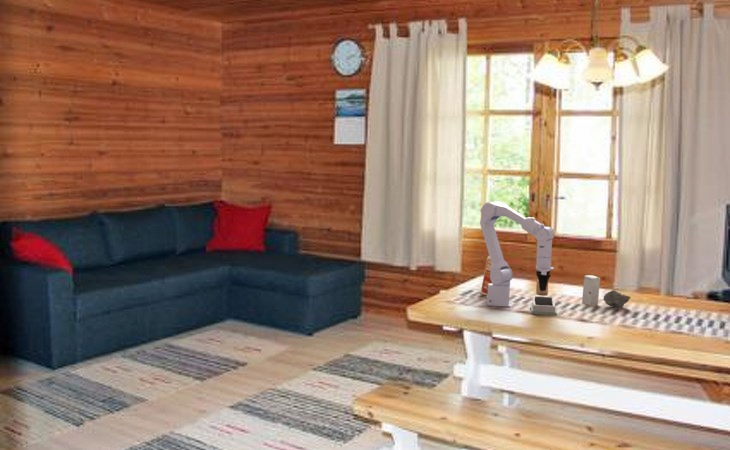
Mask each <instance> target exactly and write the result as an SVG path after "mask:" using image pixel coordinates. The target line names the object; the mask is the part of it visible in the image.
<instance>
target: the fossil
mask: <svg viewBox="0 0 730 450" xmlns="http://www.w3.org/2000/svg"><path fill="white" fill-rule="evenodd" d="M630 299H631V296H630V295H625V294H623V293H621V292H619V291H617V290H615V289H614V290H610V291H608V292H606V293H605V294H604V296H603V301H604V303H605V304H606V305H608V306H609V307H611V308H614V309H622V308H624V306H625V305H626V304H627V303H628V302H629V301H630Z"/></svg>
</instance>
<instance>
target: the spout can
mask: <svg viewBox="0 0 730 450" xmlns="http://www.w3.org/2000/svg"><path fill="white" fill-rule="evenodd" d="M549 282H550V281H549V280H548V282H547V287H546V290H545V291H540V288H539V280H538V279H537V280H536V288H535V289H536V291H535V294H536V295H535V296H540V297H547V296H548V295H549Z"/></svg>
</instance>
